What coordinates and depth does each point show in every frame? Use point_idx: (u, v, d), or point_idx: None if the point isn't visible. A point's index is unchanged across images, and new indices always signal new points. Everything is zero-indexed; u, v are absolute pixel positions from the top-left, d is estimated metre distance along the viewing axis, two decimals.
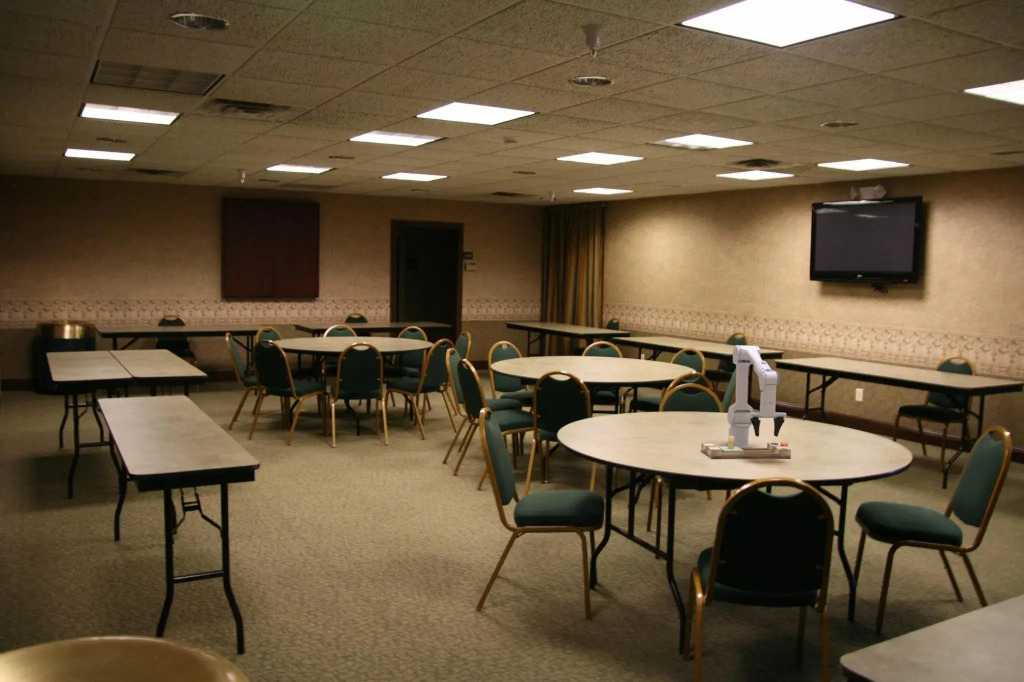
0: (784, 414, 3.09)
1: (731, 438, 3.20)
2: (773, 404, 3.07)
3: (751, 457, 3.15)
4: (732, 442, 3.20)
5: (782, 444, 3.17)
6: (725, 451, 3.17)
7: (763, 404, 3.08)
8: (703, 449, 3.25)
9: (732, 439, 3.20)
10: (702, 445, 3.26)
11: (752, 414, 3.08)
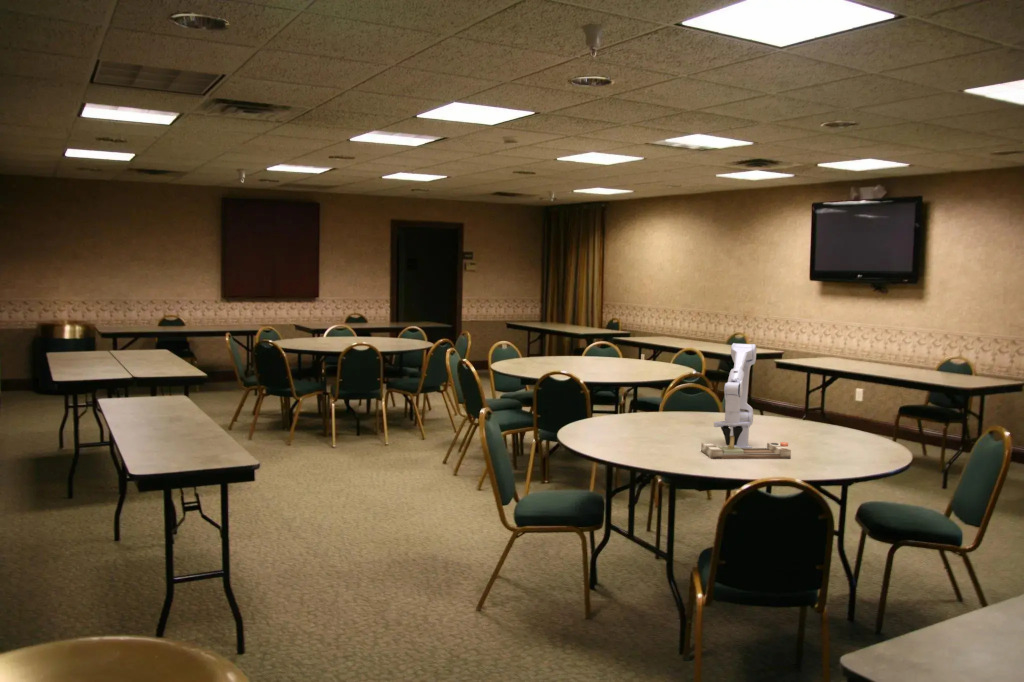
0: (748, 423, 3.20)
1: (731, 438, 3.20)
2: (737, 414, 3.18)
3: (751, 457, 3.15)
4: (732, 442, 3.20)
5: (782, 444, 3.17)
6: (725, 451, 3.17)
7: (728, 414, 3.18)
8: (703, 449, 3.25)
9: (732, 439, 3.20)
10: (702, 445, 3.26)
11: (717, 423, 3.19)
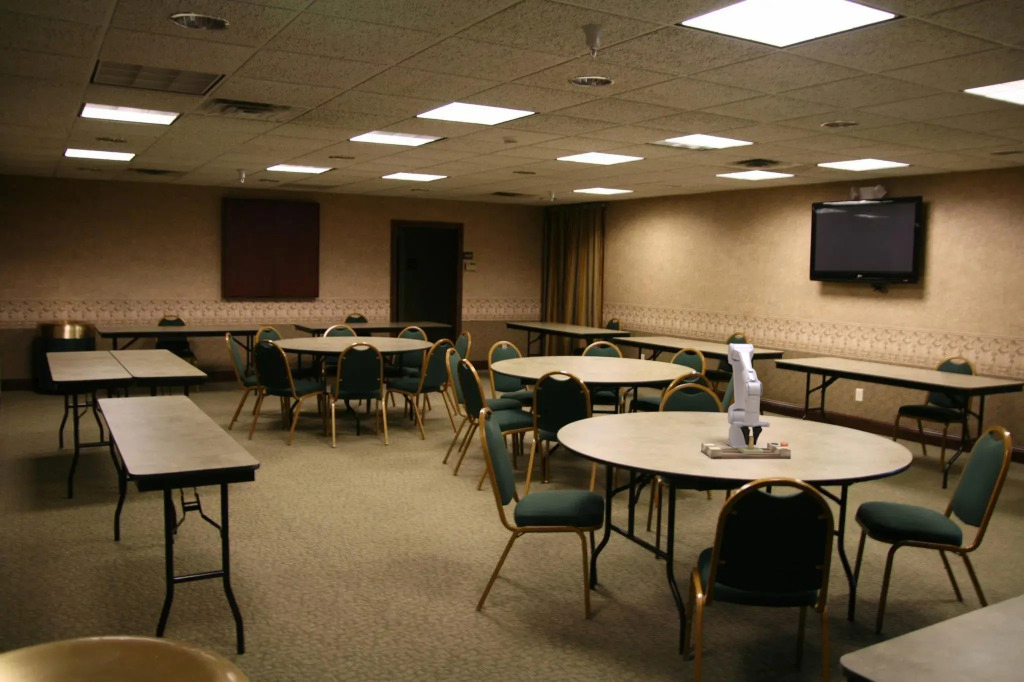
0: (767, 423, 3.21)
1: (750, 438, 3.20)
2: (757, 414, 3.18)
3: (751, 457, 3.15)
4: (751, 442, 3.21)
5: (782, 444, 3.17)
6: (745, 451, 3.18)
7: (747, 414, 3.19)
8: (703, 449, 3.25)
9: (751, 439, 3.20)
10: (702, 445, 3.26)
11: (736, 423, 3.20)
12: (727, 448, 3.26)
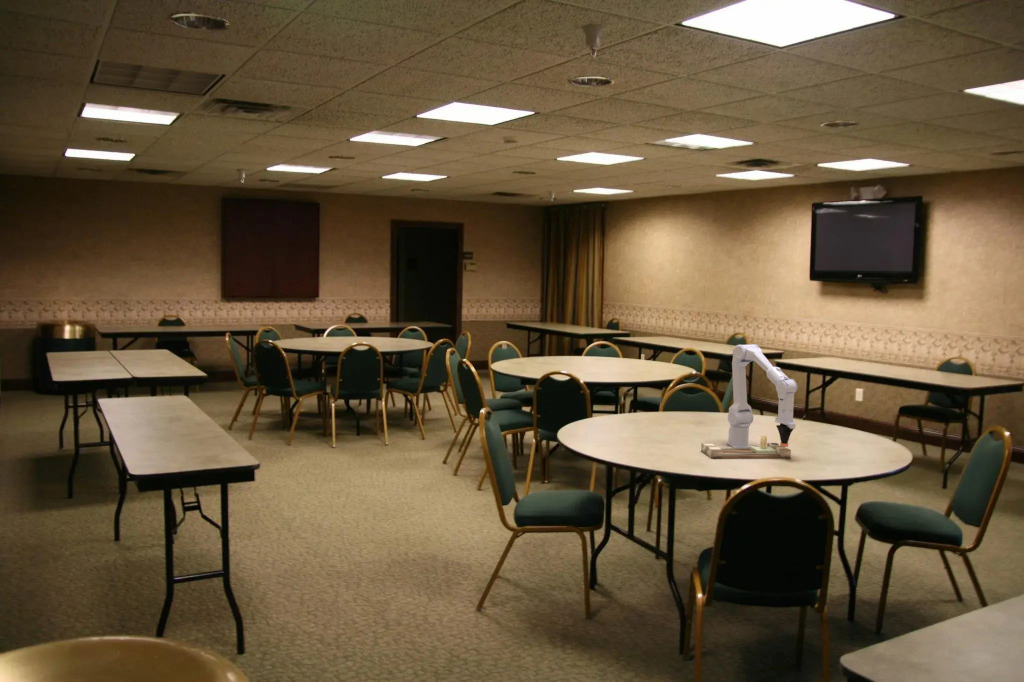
0: (789, 424, 3.10)
1: (763, 438, 3.21)
2: (780, 411, 3.15)
3: (751, 457, 3.15)
4: (764, 442, 3.21)
5: (782, 444, 3.17)
6: (758, 451, 3.19)
7: None
8: (703, 449, 3.25)
9: (764, 439, 3.21)
10: (702, 445, 3.26)
11: (776, 418, 3.23)
12: (727, 448, 3.26)
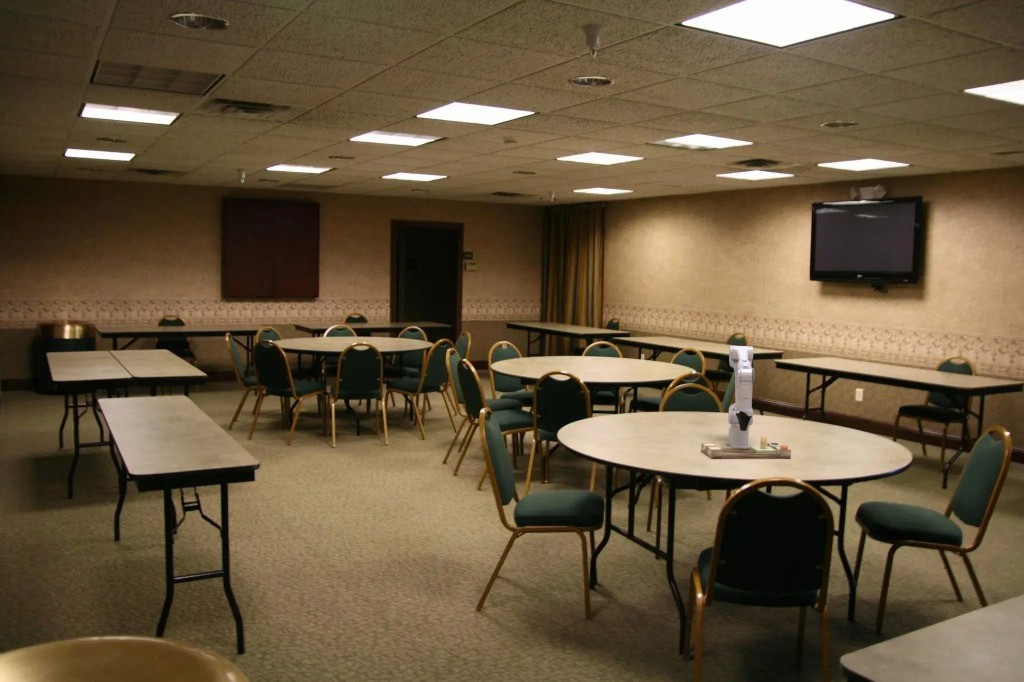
0: (747, 411, 3.17)
1: (763, 438, 3.21)
2: (739, 399, 3.22)
3: (751, 457, 3.15)
4: (764, 442, 3.21)
5: (782, 447, 3.17)
6: (758, 451, 3.19)
7: None
8: (703, 449, 3.25)
9: (764, 439, 3.21)
10: (702, 445, 3.26)
11: (736, 406, 3.30)
12: (727, 448, 3.26)
